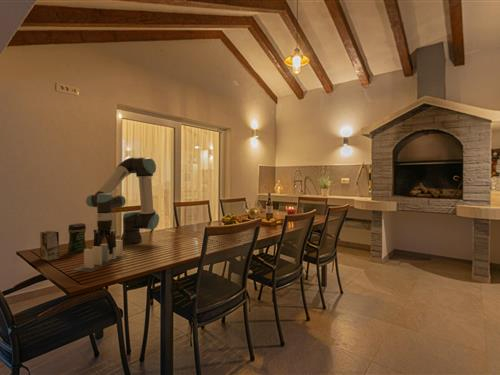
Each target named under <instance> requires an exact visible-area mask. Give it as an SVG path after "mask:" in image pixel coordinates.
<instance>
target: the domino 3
mask: <svg viewBox="0 0 500 375" xmlns="http://www.w3.org/2000/svg"><path fill="white" fill-rule="evenodd" d="M100 247H102V262H109V260H107V249H108V244H107V243H102V244H100Z"/></svg>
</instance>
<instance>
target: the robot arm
mask: <svg viewBox="0 0 500 375" xmlns="http://www.w3.org/2000/svg"><path fill="white" fill-rule="evenodd" d="M156 170H157V165H156V162H155V160H154V159H153V158H152V157H129V158H126V159H124V160H123V161H122V162H120V163H119V164H118V165H116V167H115V171H114V172H113V173H112V174H111V175H110V176H109V177H108V179H106V181H105V182H104V183H103V185H101V187H100V188H99V189H98V190H97V191H96V193H95V194H89V195H88V196H87V197H86V199H85V204H86V205H87V206H88V207H90V208H97V209H96V210H97V211H96V213H97V215H96V218H97V221H96V226H97V229H96V228H95V229H93V244H92V245H93V246H99V247H100V244H103V240H104V238H105V240H106V244H108V249H107V260H110V259H112V254H113V248H114V247H116V240H117V238H116V234H117V232H116V231H117V230H113V229H112V226H113V220H112V219H113V212H112V211H113V209H120V208H123V207H124V206H125V205H126V197H125V196H123V195H120V194H119V195H118V194H117V195H113V192H115V190H117V188H118V187H119V185H120V184H121V183H122V181H123V180H124V179H125V178H126V177H128V176H129V175H131V174H135V175H136V176H135V177H136V178H138V187H139V199H140V200H139V201H140V210H134V211H128V212H127V211H126V212H124V213H123V214H122V216H123V217H122V229H123V230H122V234H121V237H120V240H123V245H131V244H132V245H133V244H138V243H141V242H143V236H142V235H141V232H140V230H154V229H156V228H157V227H158V225H159V222H160V216H159V214H158V213H157V212H156V210H155V209H154V200H153V198H154V197H153V187H152V186H153V184H152V183H153V182H152V178H153V176H154V174H155V172H156ZM93 246H92V247H93Z"/></svg>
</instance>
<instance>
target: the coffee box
mask: <svg viewBox="0 0 500 375" xmlns="http://www.w3.org/2000/svg"><path fill="white" fill-rule="evenodd" d="M59 233H60V232H59V231H56V230H47V231H41V232H39V239H40V240H39V243H40V244H39V245H40V259H41V260H45V261H47V262H48V261H53V260H58V259H59V258H60V245H59V244H60V240H59V239H60V237H59V236H60V234H59Z"/></svg>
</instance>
